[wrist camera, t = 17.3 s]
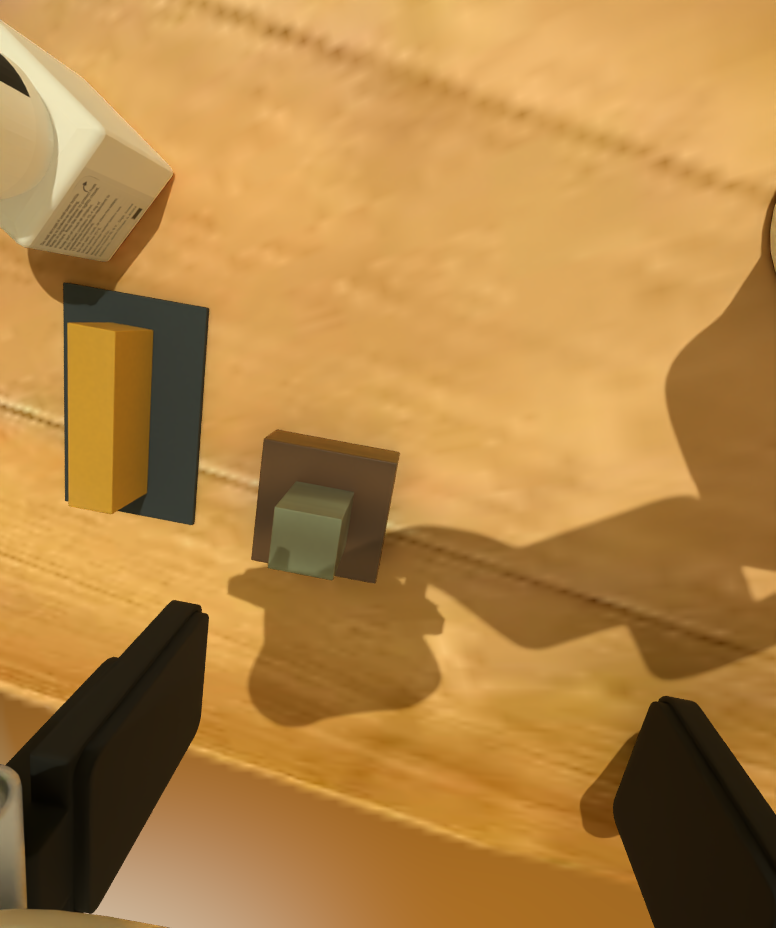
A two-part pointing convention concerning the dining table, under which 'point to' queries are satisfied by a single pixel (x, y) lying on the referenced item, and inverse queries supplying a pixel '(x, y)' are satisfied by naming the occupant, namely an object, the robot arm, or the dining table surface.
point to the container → (67, 158)
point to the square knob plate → (323, 506)
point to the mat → (156, 391)
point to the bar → (108, 414)
